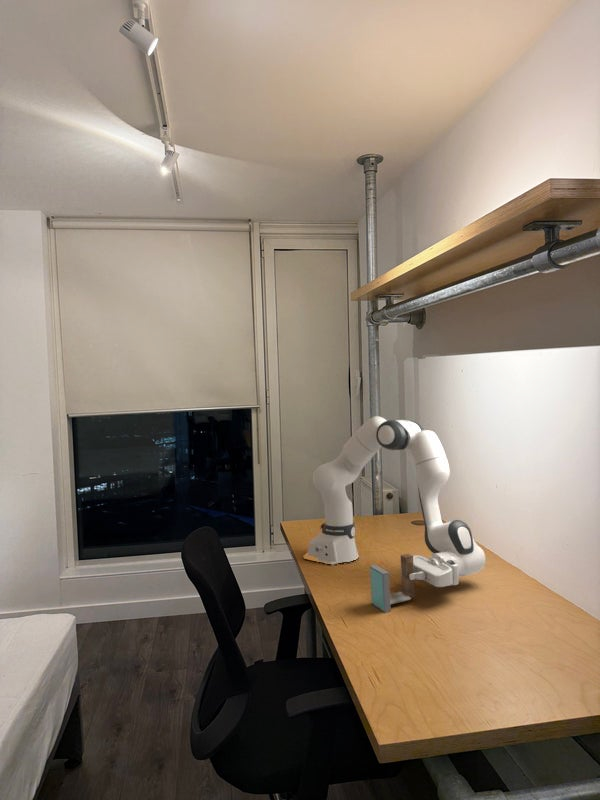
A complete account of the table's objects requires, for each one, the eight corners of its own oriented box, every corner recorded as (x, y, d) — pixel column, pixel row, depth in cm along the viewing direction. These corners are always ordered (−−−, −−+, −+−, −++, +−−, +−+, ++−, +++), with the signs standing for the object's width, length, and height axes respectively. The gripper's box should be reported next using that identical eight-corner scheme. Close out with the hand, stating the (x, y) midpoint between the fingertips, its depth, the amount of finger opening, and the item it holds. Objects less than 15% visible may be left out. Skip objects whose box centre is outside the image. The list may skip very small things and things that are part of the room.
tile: (377, 602, 179) (375, 564, 178) (390, 611, 172) (388, 572, 171) (371, 603, 178) (369, 566, 178) (384, 612, 171) (382, 573, 170)
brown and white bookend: (407, 591, 182) (405, 552, 182) (417, 597, 177) (415, 557, 176) (380, 598, 178) (379, 557, 178) (390, 604, 173) (388, 562, 173)
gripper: (422, 548, 193) (387, 555, 188) (461, 566, 174) (423, 574, 169) (422, 566, 194) (388, 573, 188) (461, 586, 175) (424, 595, 169)
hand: (405, 574), depth 178 cm, fingers closed on brown and white bookend, 3 cm apart
